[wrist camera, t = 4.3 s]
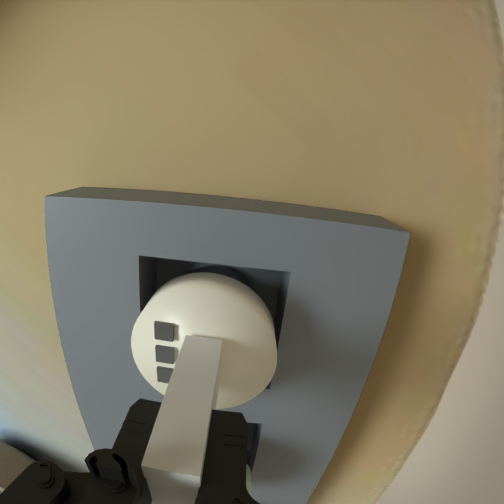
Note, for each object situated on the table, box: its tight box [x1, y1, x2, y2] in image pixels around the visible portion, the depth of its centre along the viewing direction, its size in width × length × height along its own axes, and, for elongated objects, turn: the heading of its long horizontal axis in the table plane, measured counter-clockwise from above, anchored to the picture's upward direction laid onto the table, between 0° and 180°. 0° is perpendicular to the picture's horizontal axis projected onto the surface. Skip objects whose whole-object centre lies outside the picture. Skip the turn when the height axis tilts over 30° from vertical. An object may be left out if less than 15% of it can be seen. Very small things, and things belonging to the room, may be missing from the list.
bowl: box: [0, 441, 36, 494], centre depth 23 cm, size 26×26×10 cm
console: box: [45, 187, 410, 504], centre depth 20 cm, size 18×32×4 cm, turn 174°
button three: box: [131, 266, 277, 409], centre depth 15 cm, size 6×6×5 cm
